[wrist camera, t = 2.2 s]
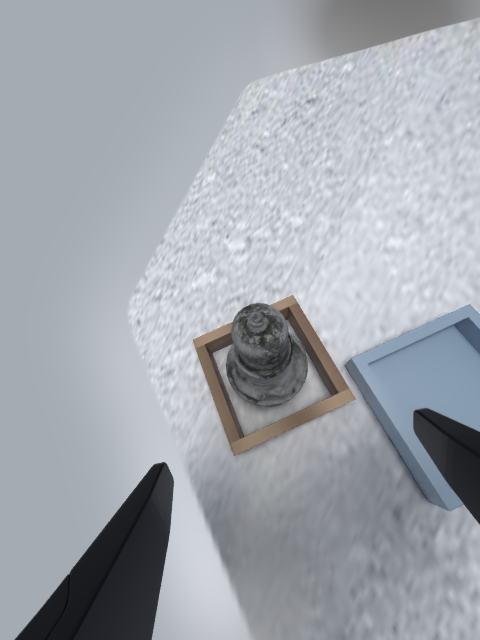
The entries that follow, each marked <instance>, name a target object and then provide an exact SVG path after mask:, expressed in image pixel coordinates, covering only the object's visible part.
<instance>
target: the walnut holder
mask: <svg viewBox="0 0 480 640" xmlns="http://www.w3.org/2000/svg"><path fill="white" fill-rule="evenodd" d="M271 306H273V307H274V308H276V309H277V310H278V311H279V312H280V313H281V314H282V315H283V317H284V319H285V320H286V319H288V320H289V321H290V323H291V325H292V327H293V329H294V330H295V332H296V334H297V336H298V337H299V339H300V341H301V343H302V345H303V346H304V348H305V350H306V352H307V353H308V355H309V357H310V359H311V360H312V362H313V364H314V366H315V368H316V369H317V371H318V373H319V375H320V376H321V378H322V380H323V382H324V383H325V385H326V387H327V389H328V391H329V392H330V394H331V396H332V397H330V398H327V399H325V400H323V401H321V402H319V403H317V404H315V405H312V406H310V407H308V408H306V409H304V410H302V411H300V412H297V413H295V414H293V415H291V416H289V417H287V418H284V419H282V420H280V421H278V422H276V423H274V424H272V425H269V426H267V427H265V428H263V429H261V430H259V431H257V432H254V433H252V434H250V435H248V436H246V437H244V435H243V432H242V430H241V427H240V425H239V422H238V419H237V417H236V414H235V412H234V409H233V406H232V404H231V401H230V399H229V396H228V393H227V391H226V388H225V386H224V383H223V380H222V378H221V375H220V373H219V370H218V367H217V365H216V362H215V360H214V357H213V354H212V353H213V352H215V351H217V350H219V349H222V348H224V347H226V346H228V345H230V344H233V340H232V335H231V329H232V323H233V322H231V323H229V324H227V325H225V326H223V327H220V328H218V329H216V330H214V331H211V332H209V333H207V334H205V335H202V336H200V337H198V338H196V339H193V343H194V345H195V348H196V351H197V354H198V357H199V360H200V362H201V365H202V368H203V371H204V374H205V376H206V379H207V382H208V385H209V388H210V390H211V393H212V396H213V399H214V402H215V404H216V407H217V410H218V413H219V416H220V418H221V421H222V424H223V427H224V430H225V432H226V435H227V438H228V441H229V444H230V446H231V449H232V452H233V455H234V456H235V455H237V454H240V453H242V452H244V451H246V450H248V449H250V448H252V447H255V446H257V445H259V444H261V443H263V442H265V441H267V440H270V439H272V438H274V437H276V436H278V435H280V434H282V433H285V432H287V431H289V430H291V429H293V428H295V427H297V426H300V425H302V424H304V423H306V422H308V421H310V420H312V419H315V418H317V417H319V416H321V415H323V414H325V413H327V412H330V411H332V410H334V409H336V408H338V407H340V406H342V405H344V404H347V403H349V402H351V401H353V400H355V397H354V395H353V394H352V392H351V390H350V389H349V387H348V385H347V384H346V382H345V380H344V379H343V377H342V375H341V374H340V372H339V370H338V369H337V367H336V366H335V364H334V362H333V361H332V359H331V357H330V356H329V354H328V352H327V351H326V349H325V347H324V346H323V344H322V342H321V341H320V339H319V337H318V336H317V334H316V332H315V331H314V329H313V327H312V326H311V324H310V322H309V321H308V319H307V317H306V316H305V314H304V313H303V311H302V309H301V308H300V306H299V304H298V303H297V301H296V299H295V298H294V296H293V295H292V296H290V297H287V298H285V299H283V300H281V301H278V302H276V303H274V304H272V305H271Z"/></svg>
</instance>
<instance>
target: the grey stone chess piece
mask: <svg viewBox="0 0 480 640" xmlns="http://www.w3.org/2000/svg"><path fill="white" fill-rule="evenodd" d="M231 335H232V340H233V345H232V346H231V348H230V350H229V353H228V355H227V362H226V369H227V376H228V379H229V381H230V384H231V386H232V387H233V389H234V390H235V391H236V392H237V394H238V395H239V396H241V397H242V398H243V399H245V400H246V401H248V402H250V403H253V404H255V405H259V406H276V405H280V404H282V403H284V402H286V401H288V400H290V399H291V398H292V397H294V396H295V395H296V394H297V393H298V392H299V391H300V389H301V387H302V386H303V384H304V382H305V379H306V375H307V372H308V361H307V357H306V354H305V350H304V349H303V347H302V345H301V344H300V342H299V341H298V340H297V339H296V338H295V337H294V336H293V335H292V334H290V333H289V332H288V326H287V322H286V320H285V319H284V317H283V315H282V314H281V313H280V312H279V311H278V310H277V309H276V308H274V307H273V306H271V305H267V304H262V303H256V304H251V305H249V306H246V307H244V308H243V309H242V310H241V311H239V312H238V314H237V315H236V316H235V318H234V320H233V323H232V329H231Z"/></svg>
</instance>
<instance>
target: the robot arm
mask: <svg viewBox="0 0 480 640" xmlns="http://www.w3.org/2000/svg"><path fill="white" fill-rule="evenodd" d="M413 429H414V432H415V434H416V436H417V438H418V439H419V441H420V442H421V444H422V445H423V447H424V448H425V450H426V452H427V453H428V455H429V456H430V458H431V459H432V461H433V462H434V464H435V465H436V467H437V469H438V470H439V472H440V473H441V475H442V476H443V478H444V479H445V480H446V482H447V483H448V484H449V486H450V487H451V488H452V490H453V491H454V492H455V493H456V495H457V496H458V497H459V499H460V500H461V501H462V502H463V504H464V505H465V506H466V508H467V509H468V510H469V511H470V513H471V514H472V515H473V517H474V518H475V519H476V520H477V522H478V523H479V524H480V431H477V430H475V429H473V428H471V427H469V426H466V425H464V424H462V423H460V422H458V421H455V420H453V419H451V418H449V417H447V416H444V415H442V414H440V413H438V412H436V411H433V410H431V409H429V408H421V409H416V410H414V412H413ZM173 487H174V480H173V476H172V474H171V472H170V470H169V468H168V466H167V464H166V463H165V462H162V463H157V464H154V465H153V466H152V467H151V469H150V470H149V471H148V473H147V474H146V475H145V476H144V478H143V479H142V480H141V481H140V483H139V484H138V485H137V487H136V488H135V489H134V490H133V492H132V493H131V494H130V496H129V497H128V498H127V499H126V501H125V502H124V503H123V504H122V506H121V507H120V509H119V510H118V511H117V512H116V513H115V515H114V516H113V517H112V519H111V520H110V522H108V524H107V525H106V526H105V528H104V529H103V530H102V532H101V533H100V534H99V535H98V537H97V538H96V539H95V540H94V542H93V543H92V544H91V546H90V547H89V548H88V549H87V551H86V552H85V553H84V554H83V556H82V557H81V558H80V560H79V561H78V562H77V563H76V565H75V566H74V567H73V569H72V570H71V572H70V574H69V575H67V576H66V578H65V579H64V580H63V581H62V583H61V584H60V585H59V586H58V588H57V589H56V590H55V591H54V593H53V594H52V595H51V596H50V598H49V599H48V600H47V601H46V603H45V604H44V605H43V606H42V608H41V609H40V610H39V611H38V613H37V614H36V615H35V616H34V617H33V619H32V620H31V621H30V622H29V623H28V624H27V626H26V627H25V628H24V629H23V630H22V632H21V633H20V634H19V635H18V636H17V638H16V639H15V640H152V633H153V628H154V622H155V616H156V611H157V605H158V599H159V593H160V587H161V582H162V576H163V570H164V564H165V558H166V552H167V547H168V541H169V534H170V525H171V512H172V500H173Z"/></svg>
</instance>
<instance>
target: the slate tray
mask: <svg viewBox="0 0 480 640" xmlns="http://www.w3.org/2000/svg"><path fill="white" fill-rule="evenodd" d="M345 367H346V368H347V370H348V372H349V373H350V375H351V376H352V378H353V380H354V381H355V383H356V384H357V386H358V388H359V389H360V391H361V393H362V394H363V396H364V397H365V399H366V401H367V402H368V404H369V405H370V407H371V409H372V410H373V412H374V413H375V415H376V417H377V418H378V420H379V422H380V423H381V425H382V426H383V428H384V430H385V431H386V433H387V434H388V436H389V438H390V439H391V441H392V442H393V444H394V446H395V447H396V449H397V451H398V452H399V454H400V455H401V457H402V459H403V460H404V462H405V463H406V465H407V467H408V468H409V470H410V471H411V473H412V475H413V476H414V478H415V479H416V481H417V483H418V484H419V486H420V488H421V489H422V491H423V492H424V494H425V496H426V497H427V499H428V500H429V502H431V503H433V504H435V505H437V506H439V507H441V508H443V509H446V510H448V511H451V510H453V509H455V508H458V507H460V506H462V505H464V504H463V502H462V501H461V500H460V499H459V497H458V496H457V495H456V493H455V492H454V491H453V490H452V488H451V487H450V486H449V484H448V483H447V482H446V480H445V479H444V478H443V476H442V475H441V473H440V472H439V470H438V469H437V467H436V465H435V464H434V462H433V461H432V459H431V458H430V456H429V455H428V453H427V452H426V450H425V448H424V447H423V445H422V444H421V442H420V441H419V439H418V438H417V436H416V434H415V432H414V429H413V412H414V410H416V409H421V408H429V409H431V410H433V411H436V412H438V413H440V414H442V415H444V416H447V417H449V418H451V419H453V420H455V421H458V422H460V423H462V424H464V425H466V426H469V427H471V428H473V429H475V430H477V431H480V314H479V313H478V312H477V311H476V310H475V309H474V308H473V307H472V306H471V305H470V304H469V305H467V306H464V307H462V308H460V309H458V310H456V311H454V312H451V313H449V314H447V315H445V316H443V317H441V318H438V319H436V320H434V321H432V322H430V323H428V324H425V325H423V326H421V327H419V328H417V329H415V330H412V331H410V332H408V333H406V334H404V335H401V336H399V337H397V338H395V339H393V340H391V341H388V342H386V343H384V344H382V345H380V346H378V347H375V348H373V349H371V350H369V351H367V352H365V353H362V354H360V355H358V356H356V357H354V358H352V359H351V360H350V361H349V362H348V363H347V364H346V365H345Z"/></svg>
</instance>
